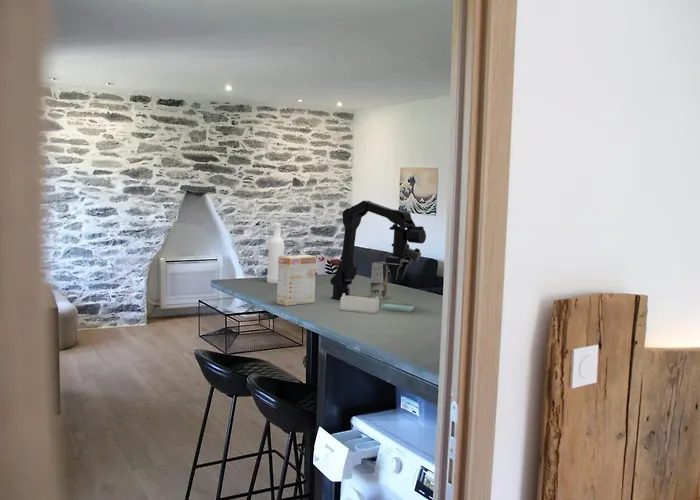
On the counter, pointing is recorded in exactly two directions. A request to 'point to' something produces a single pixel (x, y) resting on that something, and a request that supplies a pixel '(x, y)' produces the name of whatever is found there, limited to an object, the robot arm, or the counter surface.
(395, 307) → the lid
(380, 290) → the coffee box
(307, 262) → the coffeecake box
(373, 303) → the tub
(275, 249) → the bottle
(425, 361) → the counter surface
